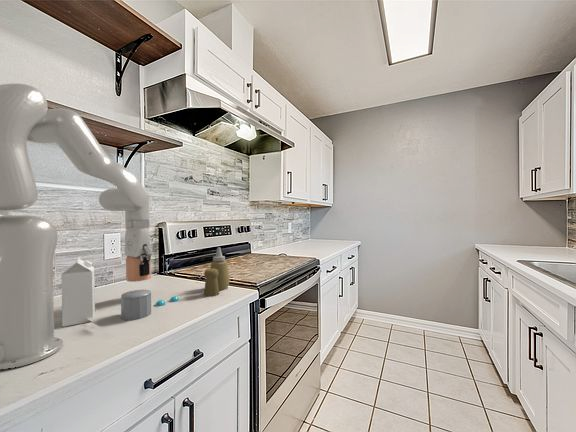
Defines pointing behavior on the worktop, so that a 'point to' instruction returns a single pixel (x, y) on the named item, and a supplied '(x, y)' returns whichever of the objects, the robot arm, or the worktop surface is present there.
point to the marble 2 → (174, 299)
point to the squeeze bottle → (221, 270)
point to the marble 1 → (160, 303)
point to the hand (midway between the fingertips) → (138, 273)
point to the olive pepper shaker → (211, 283)
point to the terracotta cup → (135, 270)
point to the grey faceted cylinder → (135, 304)
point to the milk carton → (78, 293)
